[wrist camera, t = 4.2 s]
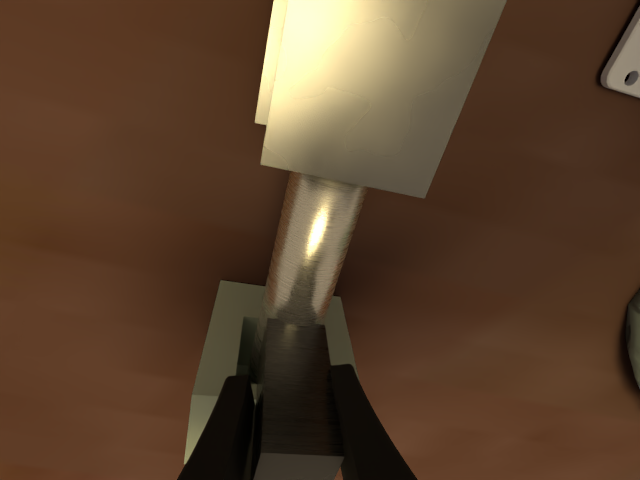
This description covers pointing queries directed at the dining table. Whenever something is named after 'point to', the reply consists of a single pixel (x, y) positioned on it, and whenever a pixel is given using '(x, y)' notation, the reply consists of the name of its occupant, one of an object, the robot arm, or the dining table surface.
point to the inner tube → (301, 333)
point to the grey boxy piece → (369, 86)
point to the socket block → (245, 348)
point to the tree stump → (634, 334)
